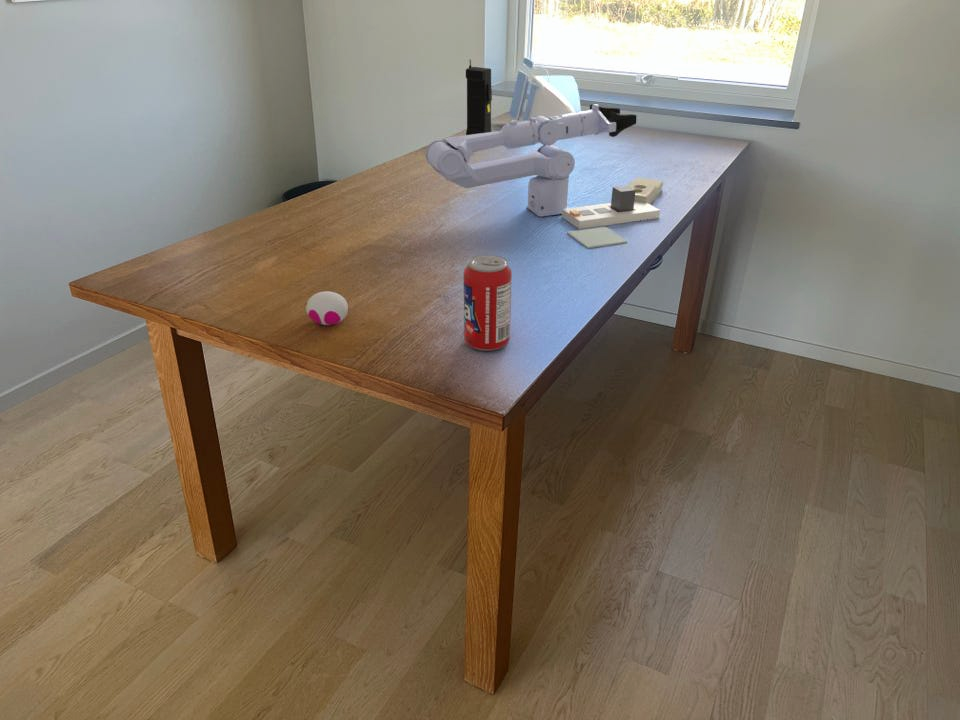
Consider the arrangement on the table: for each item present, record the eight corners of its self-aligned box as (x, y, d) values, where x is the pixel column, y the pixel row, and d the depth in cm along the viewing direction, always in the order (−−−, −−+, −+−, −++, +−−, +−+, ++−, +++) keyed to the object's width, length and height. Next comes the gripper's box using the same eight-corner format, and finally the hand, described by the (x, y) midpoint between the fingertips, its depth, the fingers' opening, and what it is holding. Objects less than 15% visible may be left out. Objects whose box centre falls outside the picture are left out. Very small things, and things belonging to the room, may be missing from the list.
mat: (587, 248, 166) (587, 246, 166) (567, 233, 174) (567, 231, 174) (626, 242, 169) (627, 241, 169) (604, 228, 177) (605, 226, 177)
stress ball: (308, 341, 136) (295, 324, 130) (317, 302, 139) (305, 284, 133) (347, 343, 134) (336, 326, 128) (356, 305, 138) (346, 286, 132)
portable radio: (495, 140, 247) (496, 60, 235) (485, 144, 243) (486, 62, 230) (474, 137, 251) (475, 58, 238) (465, 141, 246) (464, 60, 234)
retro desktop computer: (522, 53, 251) (556, 48, 260) (508, 116, 267) (541, 109, 275) (571, 86, 239) (605, 80, 248) (553, 149, 255) (586, 141, 263)
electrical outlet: (663, 177, 200) (646, 196, 186) (661, 192, 202) (644, 212, 188) (637, 173, 203) (618, 192, 189) (635, 188, 205) (617, 208, 191)
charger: (618, 219, 182) (621, 191, 179) (610, 214, 186) (612, 186, 182) (632, 217, 184) (635, 189, 180) (624, 212, 187) (626, 185, 183)
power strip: (579, 229, 177) (580, 218, 175) (562, 216, 184) (562, 206, 182) (659, 217, 184) (660, 207, 182) (639, 206, 191) (640, 196, 189)
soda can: (506, 356, 125) (508, 273, 117) (459, 352, 126) (459, 269, 118) (512, 334, 131) (515, 254, 124) (468, 330, 133) (468, 251, 125)
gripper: (592, 113, 172) (644, 104, 175) (563, 101, 183) (612, 93, 187) (592, 144, 175) (642, 135, 179) (564, 130, 187) (612, 122, 191)
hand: (627, 116), depth 183 cm, fingers open, 7 cm apart
